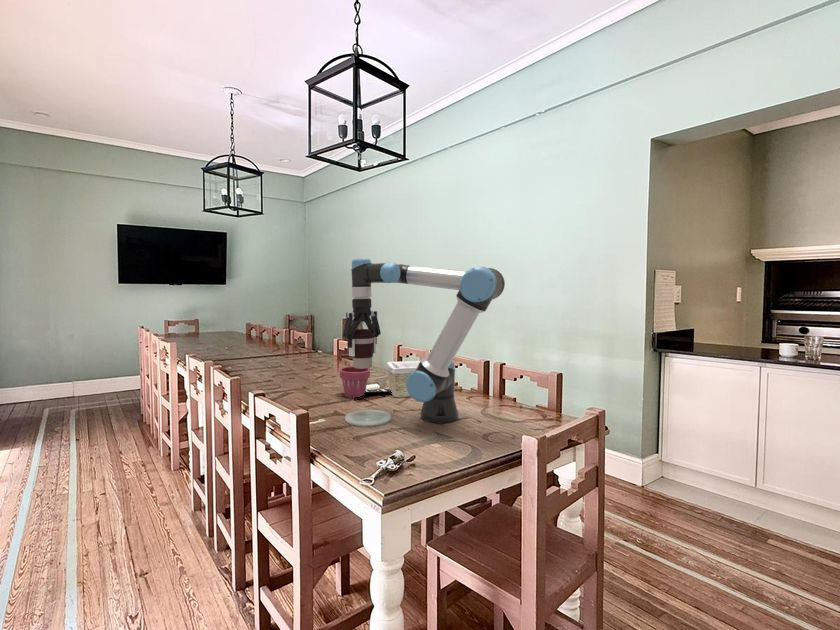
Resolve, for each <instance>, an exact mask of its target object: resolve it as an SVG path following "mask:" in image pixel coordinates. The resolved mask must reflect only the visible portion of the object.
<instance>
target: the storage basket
mask: <svg viewBox="0 0 840 630" xmlns="http://www.w3.org/2000/svg"><path fill="white" fill-rule="evenodd" d="M420 361H421V360H410V361H409V360H408V361H407V360H406V361H388V362H387V363H386V370H387V374H388V375H387V376H388V385H389V386H388V387H389V391H390V390H391V392H392V393H391V392H390V393H391V394H392V396H393V397H394V398H408V397H409V398H412V397H411V396H410V395H409V393H408V390H407V388H406V380H407V378H408V376H409V375H410V374H411V373H412V372H414V371H415V370H416V368H417V367H418V365H419V363H420Z"/></svg>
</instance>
